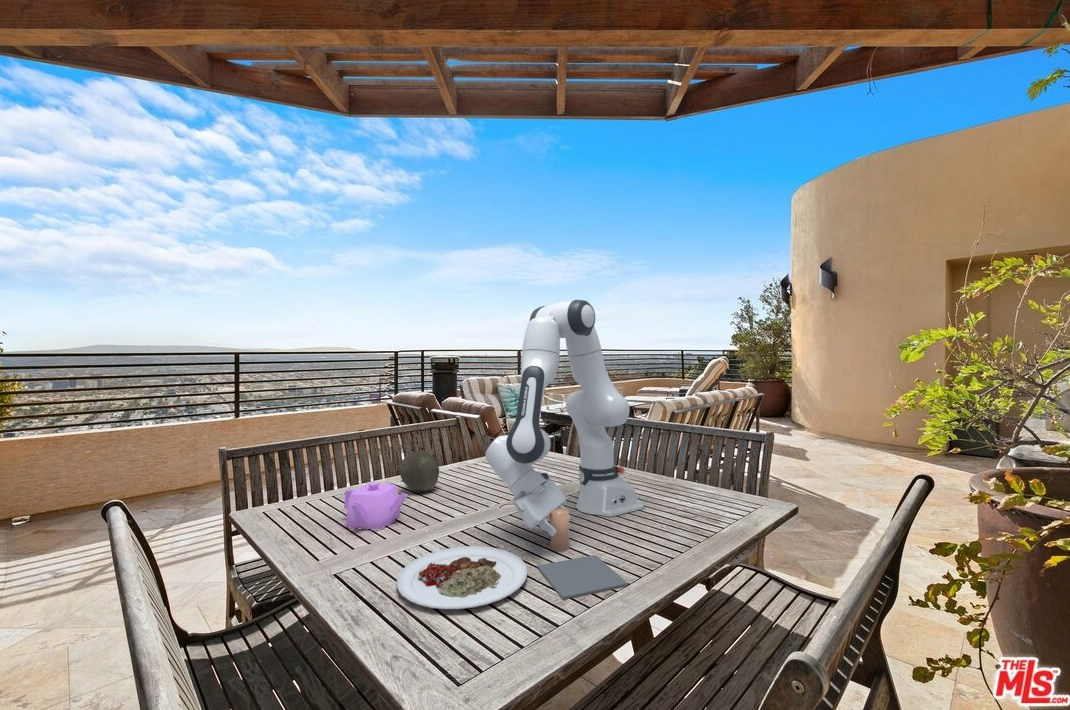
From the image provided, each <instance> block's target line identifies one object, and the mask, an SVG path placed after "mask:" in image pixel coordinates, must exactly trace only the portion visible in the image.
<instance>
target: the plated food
mask: <svg viewBox="0 0 1070 710" xmlns="http://www.w3.org/2000/svg"><path fill="white" fill-rule="evenodd" d="M527 576H528V567H527V565H526V563H525V562H524V560H522V558H520V557H519V556H518V555H516V554H514V553H512V552H510V551H507V550H504V549H502V548H501V549H500V548H496V547H491V546H481V545H480V546H478V545H469V546H467V545H466V546H456V547H449V548H443V549H440V550H436V551H433V552H429V553H427V554H424V555H422V556H420V557H418V558H415V559H414V560H413V561H411V562H409V563H408V564H407V565H405V567H404V568H402V570H401V571H400V572H399V574H398V575H397V578H396V579H397V580H396V587H397V590H398V592H399V593H400V595H401V596H402V597H403V598H405V599H406V600H408V602H412V603H413V604H416V605H419V606H423V607H427V608H430V609H439V610H463V609H471V608H477V607H481V606H485V605H489V604H493V603H495V602H498V601H501V600H503V599H505V598H507V597H509V596H510V595H512V594H514V593H515V592H516V591H518V590H519V589H520V588H521V587H522V586H523V584H524V583H525V582H526V579H527Z"/></svg>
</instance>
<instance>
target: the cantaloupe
mask: <svg viewBox="0 0 1070 710" xmlns="http://www.w3.org/2000/svg"><path fill="white" fill-rule="evenodd" d="M439 467H440V466H439V464H438V463H437V460H436V458H435V457H434V456H433V455H432V454H430V453H429V452H426V451H416V452H411V453H409V454H408V455H406V456H405V457H404V458H403V460H402V461H401V463H400V465H399V475H400V478H401V480H402V482H403V484H405V486H407V487H408V488H409V489H411V490H413V491H415V492H419V491H425V492H428V491H430V490H432V489H433V488H434V487H435V486H436V485H437V483H438V480H439V477H440V476H439V475H440V468H439Z"/></svg>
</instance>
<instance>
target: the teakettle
mask: <svg viewBox="0 0 1070 710" xmlns="http://www.w3.org/2000/svg"><path fill="white" fill-rule="evenodd" d="M407 497H408V494H407V493H403V492H402V493H400V494H399V490H398V487H397V485H396V484H394V482H389V481H388V482H385V483H380V482H378V481H372V482H369V483H368V484H365V485H363V486H361V487H359V488H349V489H346V490H345V491H344V502H343V504H344V506H343V508H344V509H346V524H347V527H350V528H361V529H381V528H383V527H385V526H387V525H388V526H389V524H390V523H391V524H393V523H394V522H395V521H396V520H398V518H399V517H400V513H401V509H402V508H401V507H402V506H403V504H404V502H405V501H406V499H407ZM398 516H399V517H398ZM395 519H396V520H395ZM394 520H395V521H394ZM393 521H394V522H393ZM392 522H393V523H392ZM391 524H390V525H391ZM388 526H387V527H388ZM350 528H349V529H350ZM385 528H386V527H385ZM383 529H384V528H383ZM381 530H382V529H381Z"/></svg>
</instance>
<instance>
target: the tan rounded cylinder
mask: <svg viewBox="0 0 1070 710" xmlns="http://www.w3.org/2000/svg"><path fill="white" fill-rule="evenodd" d="M549 516H550V517H549V520H550V521H549V524H550V525H551V526H555V528H556V529H557V530H558V532H557V533H556V534H555V535H554V536H551V535H550V534H549V536H550V549H551V550H553V551H554V552H555V551H556V552H566V551H567V550H569V549H570V520H569V517H570V510H569V508H566V507H564V508H562V507H557V508H555V509H554V510H553V511H552V512H551V514H550V515H549Z"/></svg>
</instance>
